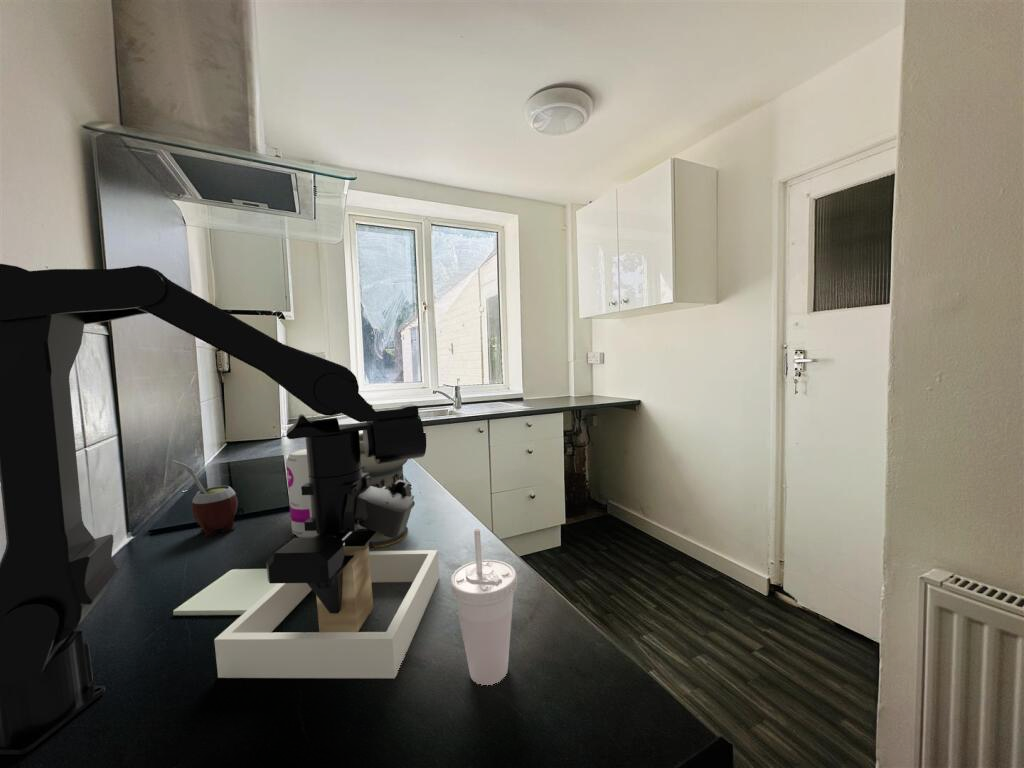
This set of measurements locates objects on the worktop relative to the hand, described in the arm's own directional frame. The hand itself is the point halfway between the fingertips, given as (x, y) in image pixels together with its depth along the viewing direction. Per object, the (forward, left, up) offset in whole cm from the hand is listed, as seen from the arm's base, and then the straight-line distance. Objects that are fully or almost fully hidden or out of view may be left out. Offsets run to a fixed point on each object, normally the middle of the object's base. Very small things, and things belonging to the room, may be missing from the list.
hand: (345, 599), depth 49 cm
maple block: (0, 0, -3) cm, 3 cm away
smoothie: (-8, -18, -3) cm, 20 cm away
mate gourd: (+26, +38, -3) cm, 46 cm away
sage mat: (+6, +18, -2) cm, 19 cm away
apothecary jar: (+23, +5, -3) cm, 24 cm away
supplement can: (+26, +18, -3) cm, 32 cm away
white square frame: (0, 0, -2) cm, 2 cm away
